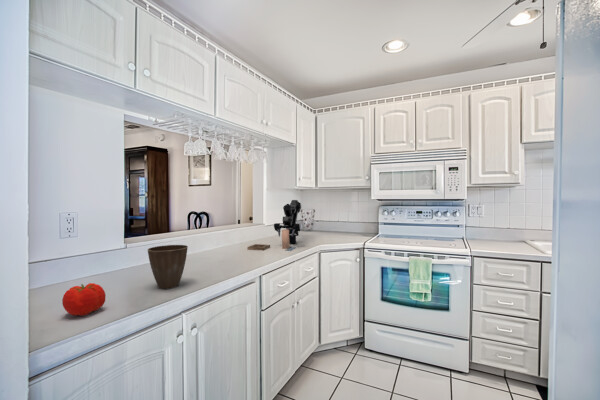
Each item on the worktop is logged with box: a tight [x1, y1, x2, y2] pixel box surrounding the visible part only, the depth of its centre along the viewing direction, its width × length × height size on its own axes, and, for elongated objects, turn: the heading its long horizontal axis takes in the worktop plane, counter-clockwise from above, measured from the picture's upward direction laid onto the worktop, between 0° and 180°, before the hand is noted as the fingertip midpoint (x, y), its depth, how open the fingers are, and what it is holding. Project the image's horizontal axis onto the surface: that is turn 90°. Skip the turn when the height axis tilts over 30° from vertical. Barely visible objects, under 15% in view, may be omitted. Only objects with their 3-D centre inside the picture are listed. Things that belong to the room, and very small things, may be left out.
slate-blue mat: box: [284, 246, 296, 252], centre depth 196 cm, size 11×11×1 cm
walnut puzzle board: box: [246, 243, 271, 251], centre depth 195 cm, size 12×12×2 cm
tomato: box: [61, 282, 107, 317], centre depth 88 cm, size 11×11×9 cm
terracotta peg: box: [281, 228, 291, 250], centre depth 196 cm, size 5×5×13 cm
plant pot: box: [147, 244, 188, 290], centre depth 114 cm, size 15×15×16 cm
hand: (285, 236), depth 194 cm, fingers open, 9 cm apart
